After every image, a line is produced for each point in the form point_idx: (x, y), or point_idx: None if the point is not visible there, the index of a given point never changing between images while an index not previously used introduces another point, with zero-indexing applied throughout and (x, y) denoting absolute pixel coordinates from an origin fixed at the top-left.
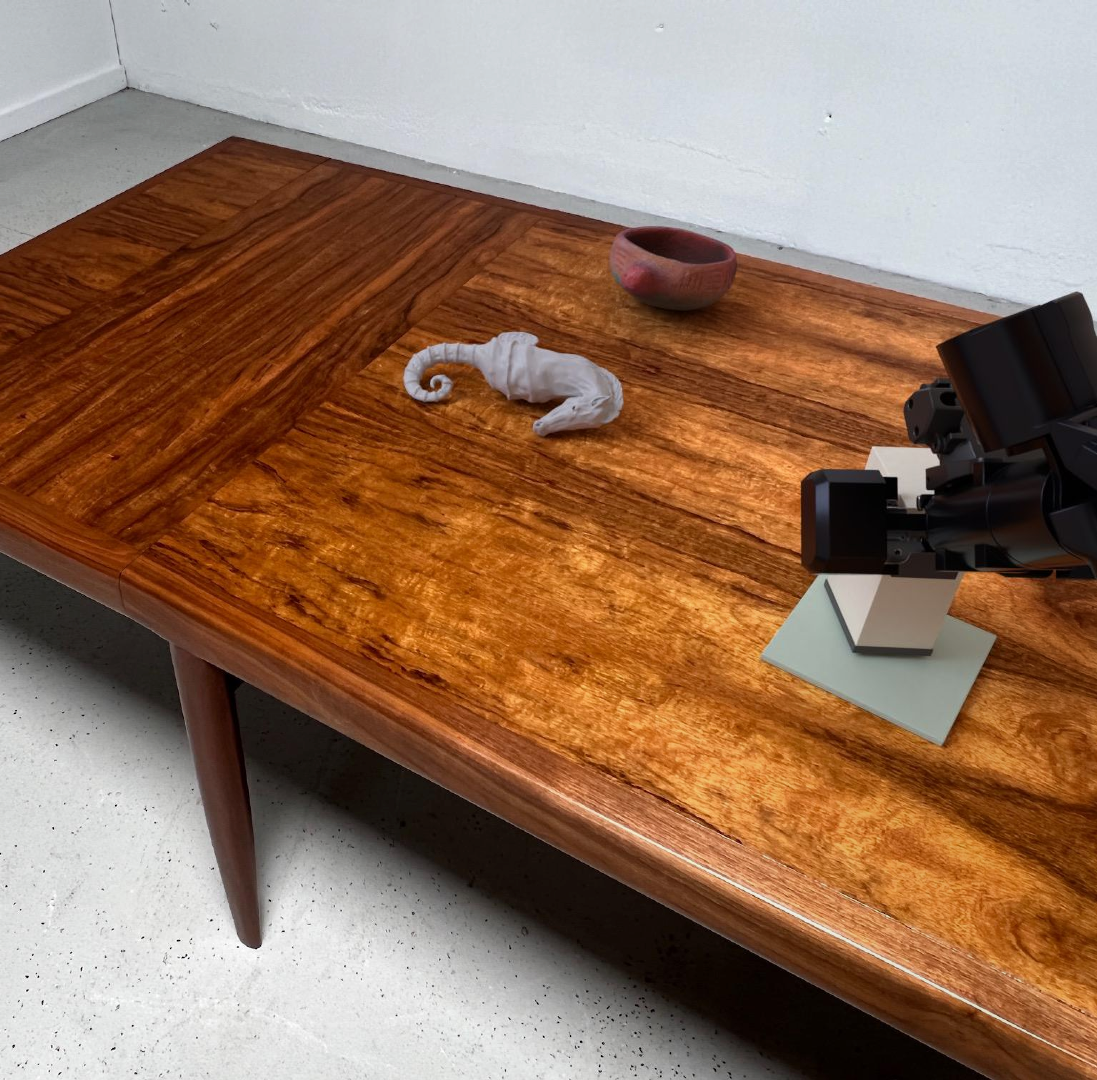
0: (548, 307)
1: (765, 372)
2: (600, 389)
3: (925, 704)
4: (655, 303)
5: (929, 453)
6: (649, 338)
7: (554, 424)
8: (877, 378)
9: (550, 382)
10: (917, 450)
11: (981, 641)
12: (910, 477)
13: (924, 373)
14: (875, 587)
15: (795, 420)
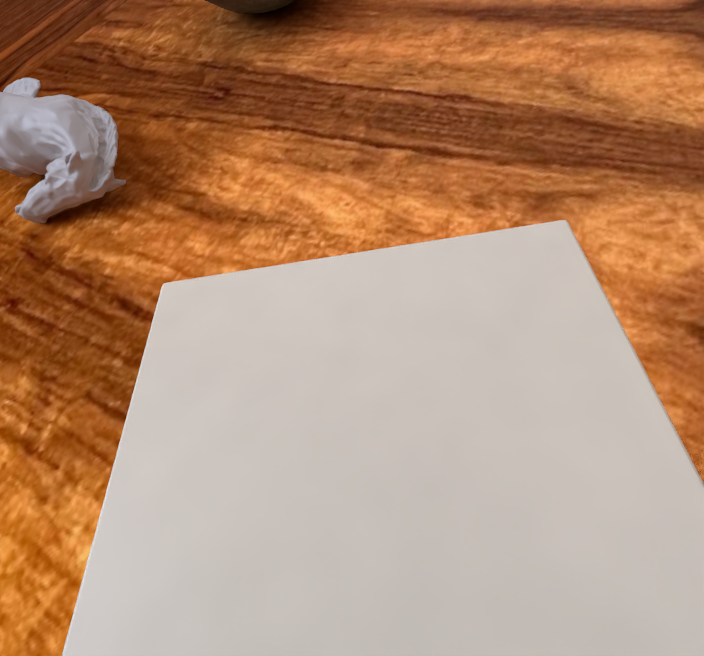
0: (144, 44)
1: (352, 64)
2: (74, 142)
3: None
4: (230, 5)
5: (443, 282)
6: (234, 53)
7: (37, 206)
8: (489, 39)
9: (28, 145)
10: (381, 269)
11: None
12: (223, 624)
13: (549, 18)
14: None
15: (373, 124)
